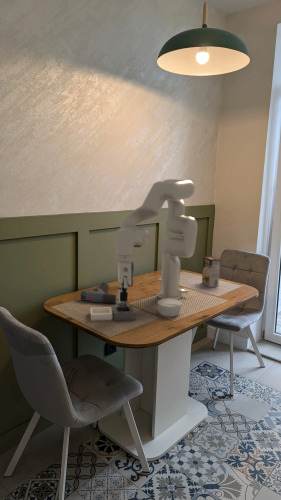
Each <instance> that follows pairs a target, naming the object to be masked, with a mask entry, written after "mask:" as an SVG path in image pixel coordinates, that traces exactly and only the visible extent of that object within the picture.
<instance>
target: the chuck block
mask: <svg viewBox="0 0 281 500" xmlns="http://www.w3.org/2000/svg"><path fill="white" fill-rule="evenodd" d="M111 310H112V321H114V322H118V321H119V322H121V321H124V322H126V321H135V319H136V316H135V315H136V312H135V309H134V308H133V305H127V307H125V308H120V307H118V305H112V306H111Z"/></svg>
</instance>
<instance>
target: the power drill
mask: <svg viewBox="0 0 281 500" xmlns="http://www.w3.org/2000/svg"><path fill="white" fill-rule="evenodd" d="M109 286H110V285H109V283H107V282H102V283H100V284H98V285H97V286H96V287H95V288H94V289H93V290H82V291H81V293H80V300H81V301H82V300H86V301H85V302H91V301H92V303H99V304H100V303H101V304H103V303H104V304H116V303H118V295H117V294H113V293H108V290H109V288H110V287H109Z"/></svg>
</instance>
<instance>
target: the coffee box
mask: <svg viewBox="0 0 281 500" xmlns="http://www.w3.org/2000/svg"><path fill="white" fill-rule="evenodd" d="M220 270H221V259H220V258H217V257H215V256H203V264H202V275H201V277H202V278H201V283H202V284H203V285H205V286H207V287H209V288H212V287H213V288H214V287H218V286H219V285H220V284H219V281H220Z"/></svg>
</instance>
